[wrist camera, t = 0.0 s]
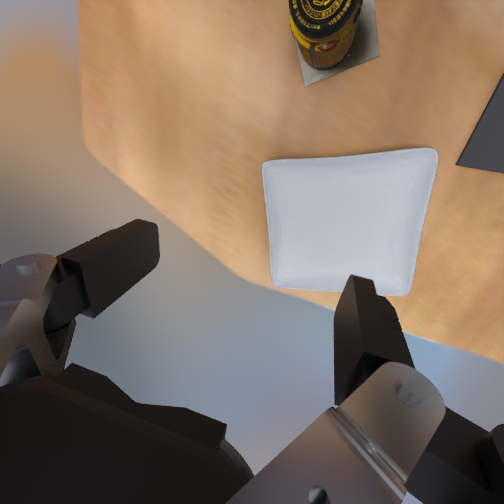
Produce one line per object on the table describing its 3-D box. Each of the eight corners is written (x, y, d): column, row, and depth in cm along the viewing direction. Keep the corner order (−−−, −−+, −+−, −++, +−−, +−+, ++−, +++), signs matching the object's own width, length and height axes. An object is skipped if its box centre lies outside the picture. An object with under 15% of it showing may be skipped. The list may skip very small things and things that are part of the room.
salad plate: (404, 286, 40) (410, 299, 37) (275, 278, 46) (271, 289, 43) (432, 143, 30) (443, 145, 27) (265, 158, 37) (259, 161, 34)
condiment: (290, 15, 28) (268, -45, 18) (371, -28, 25) (398, -130, 15) (304, 86, 31) (292, 69, 21) (379, 56, 28) (407, 18, 18)
